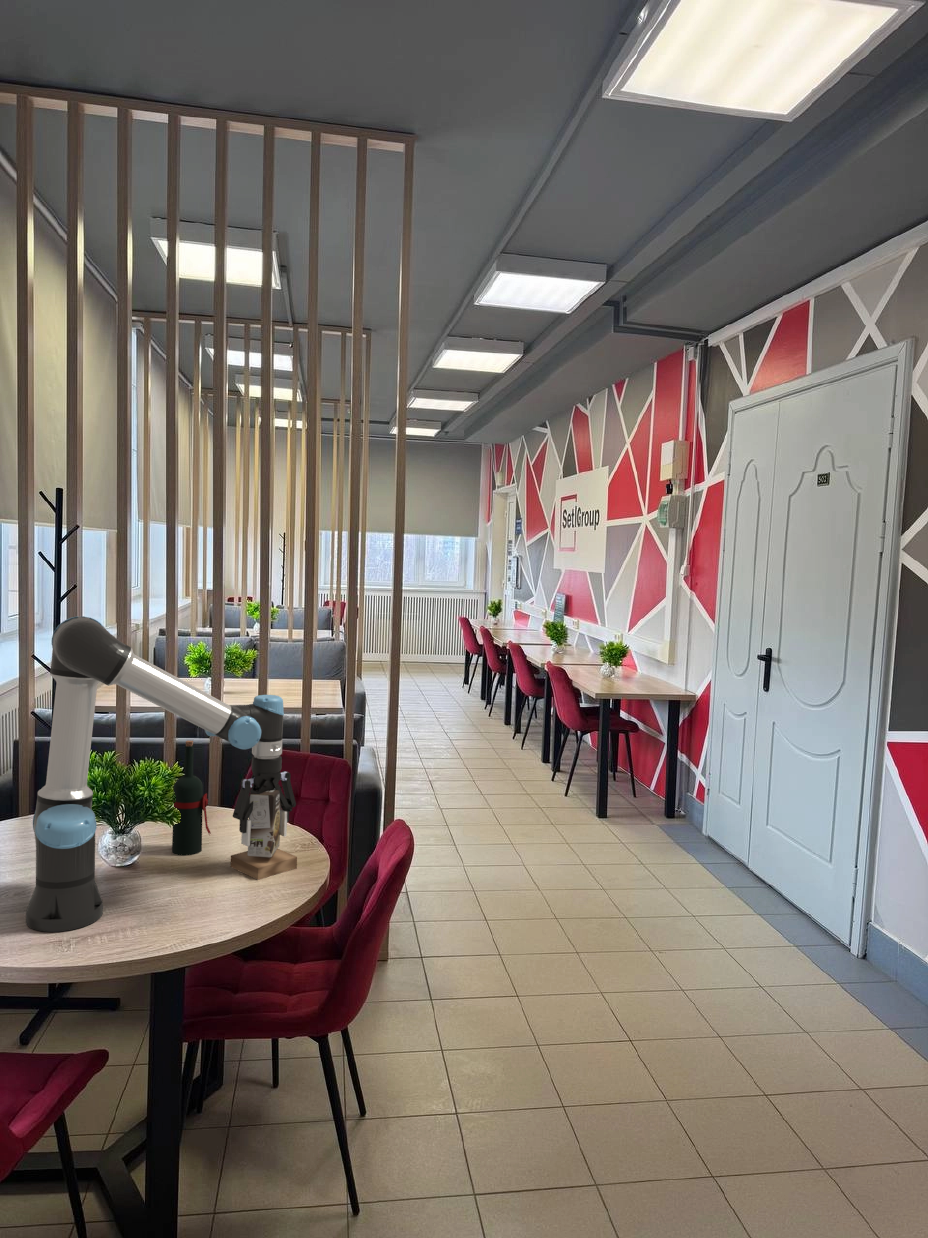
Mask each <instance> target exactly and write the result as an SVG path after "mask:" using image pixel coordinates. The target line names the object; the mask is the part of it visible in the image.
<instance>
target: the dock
mask: <svg viewBox="0 0 928 1238" xmlns="http://www.w3.org/2000/svg"><path fill="white" fill-rule="evenodd" d="M230 868H232V869H234V870H236V871H239V872H241V873H243V874H245V875H247V876H249V877H250V878H252V879H255V880H257V881H258V880H262V879H266V878H269V877H272V876H275V875H279V874H281V873H285V872H288V871H293V870H294V869H297V868H298V856H296V855H293V854H291V853H289V852H287V851H284V850H281V849H279V848H277V850H276V851H275V853H274V854H273V855H272V857H258V856H248V850H245V851H243V852H238V853H236V854H231V855H230Z"/></svg>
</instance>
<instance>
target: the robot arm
mask: <svg viewBox="0 0 928 1238" xmlns="http://www.w3.org/2000/svg"><path fill="white" fill-rule="evenodd" d="M51 648H52V651H51V660H50V661H51V662H50V671H49V672H50V673H49V674H50V676H51V677H52V678H53V679H54V681H55V683H56V685H55V695H54V704H53V711H52V712H53V713H52V721H51V723H52V724H51V733H50V740H49V741H50V743H49V749H48V750H49V753H48V762H47V771H46V781H45V785H44V786H42V787H41V789H39V790H38V791H37V797H36V805H35V811H34V814H33V818H32V830H33V833H34V840H35V841H34V842H35V843H34V844H35V887H34V889H33V892H32V894H31V897H30V900H29V903H28V906H27V909H26V911H25V924H26V923H27V924H26V926H27V925H28V926H29V927H28V926H27V927H28V928H30V929H32V930H35V931H39V932H49V933H55V932H56V933H57V932H67V931H73V930H77V929H81V928H84V927H87V926H88V925H92V924H93V923H95V922H96V921H98V920H99V919H101V917H102V915H104V914H103V913H104V912H103V911H104V904H103V900H102V896H101V893H100V891H99V888H98V886H97V883H96V880H95V879H96V878H95V877H96V876H95V874H96V873H95V872H96V869H95V868H96V865H95V864H96V830H97V827H98V826H97V825H98V824H97V820H96V814H95V812H94V811H93V809H92V807H93V797H94V796H93V795H94V792H93V790H92V789H91V788H90V787H89V785H88V775H89V768H90V767H89V766H90V757H91V749H92V748H91V746H92V738H93V729H94V728H93V727H94V720H95V711H96V710H95V709H96V701H97V692H98V691H97V690H98V685H99V684H100V683H102V684H104V685H105V686H112V685H115V686H116V685H117V686H118V687H121V688H122V689H124V690H126V691H129V692H130V693H132V694H135V695H137V696H138V697H140V698H141V699H144V700H146V701H149V702H150V703H152V704H154V705H156V706H158V707H160V708H161V709H164V710H166V711H168V712H169V713H172V714H173V715H175V716H177V717H179V718H181V719H183V720H184V721H187V722H189V723H191V724H193V725H194V726H196V727H199V728H201V729H203V730H204V732H205V734H206V735H207V736H209V737H218V738H220V739H222V740H224V741H226V742H227V743H230V744H231V746H232V747H235V748H236V749H240V750H249V749H251V754H252V755H253V756H252V757H251V772H252V775H251V778H248V779H246V778H242V779H241V780H240V790H239V793H238V796H237V800H236V803H235V806H234V810H233V813H232V818H234V819H235V820H239V832H240V833H241V839H240V840H241V844H242V845H243V846H246V847H248V846H250V832H251V820H249V816H250V814H251V812H252V810H253V801H252V802H251V803H250V794H251V793H252V792H253V793H256V794H260V793H263V792H265V791H269V790H274V789H276V790H279V791H280V802H281V817H280V837H284V838H285V837H287V835H288V834H287V833H288V832H287V831H288V829H287V828H288V823H289V821H290V812H292V811H293V808H295V807H296V806H297V803H296V799H295V795H294V790H293V786H292V783H291V779H292V778H291V777H292V776H291V773H290V772H289V771H285V770H283V771H282V772H281V770H282V766H283V765H282V763H283V758H282V757H283V756H281V755H283V728H284V716H285V713H284V710H285V709H284V699H283V697H281V696H279V695H275V694H261V695H256V696H254V697H253V701H252V703H250V704H227V703H226V702H224V701H222V700H221V699H218V698H216V697H214V696H212V695H211V694H209V693H207V692H206V691H204V690H201V689H199V688H197V687H196V686H194V685H192V684H190V683H189V682H186V681H185V680H183V679H181V678H179V677H177V676H175V675H174V674H172V673H170V672H168V671H166V670H164V669H162V668H161V667H158V666H157V665H155V664H153V663H151V662H149V661H148V660H146V659H144V658H142V657H141V656H138V655H136V654H135V653H134V650H133V647H131V646H130V645H127V644H125V643H124V642H122V641H121V640H119V639H118V638H117V637H115V636H114V635H113V634H112V633H110V632H109V630H108V629H106V628H105V626H104V625H103V624H102V623H101V622H100V621H98V620H96V619H95V618H93V617H87V616H73V617H69V618H66V619H65V620H63V621H62V622H61V623H59V624H58V625H57V627H56V628H55V630H54V631H53V633H52V636H51ZM280 782H281V787H282V788H280V784H279V783H280ZM256 790H257V791H258V792H256ZM282 790H283V791H282Z"/></svg>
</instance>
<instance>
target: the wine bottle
mask: <svg viewBox="0 0 928 1238" xmlns="http://www.w3.org/2000/svg"><path fill="white" fill-rule="evenodd" d="M184 747H185V748H184V775H182V776H181V777H179V778H177V780H176V781H175V782H176V783H174V784H173V793H174V792H175V795H176V802H175V803H174V807H175V808H177V809H178V810H179V811H180V813H181V819H180V821H181V822H180V823H178V824H175V825H173V824H172V837H171V838H172V841H171V844H172V845H171V854H173V855H175V856H183V857H185V856H194V855H198V854H199V853H201V852H202V851H203V817H204V824H205V829H206V831H207V834H208V835H209V836H211V835H212V833H211V830H210V828H209V826H208V817H207V806H208V804H209V799H208V793H207V792H206V793H204V784H203V782H202V780H201V779H200V778H199V777H198V776H196V775H194V753H195V752H194V751H195V749H194V748H195V747H194V740H186V741H185V746H184ZM203 813H204V815H203Z"/></svg>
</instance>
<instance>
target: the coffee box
mask: <svg viewBox="0 0 928 1238" xmlns="http://www.w3.org/2000/svg"><path fill="white" fill-rule="evenodd" d="M279 786H280V785H279ZM280 788H281V789H283V787H282V785H281V786H280ZM256 792H258V791H257V790H256ZM249 795H250V803H251V802H252V801H253V810H252V812H251V814H250V816H249V818H248V819H249V820H251V832H250V846H247V851H248V856H258V857H272V855H273V854H274V853H275V851H276V850H277V849H279V848H280V845H281V844H280V843H281V841H280V839H281V835H280V817H281V810H282V808H281V802H280V791H279V790H276V789H274V790H269V791H265V792H263V793H260V794H256V793H253V792H252V793H251V794H250V793H249Z"/></svg>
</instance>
